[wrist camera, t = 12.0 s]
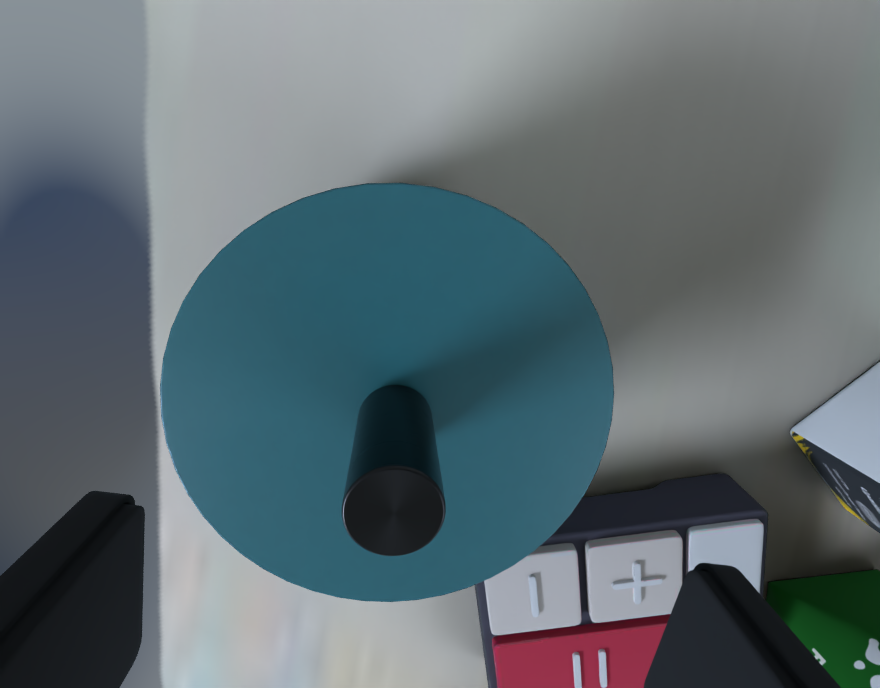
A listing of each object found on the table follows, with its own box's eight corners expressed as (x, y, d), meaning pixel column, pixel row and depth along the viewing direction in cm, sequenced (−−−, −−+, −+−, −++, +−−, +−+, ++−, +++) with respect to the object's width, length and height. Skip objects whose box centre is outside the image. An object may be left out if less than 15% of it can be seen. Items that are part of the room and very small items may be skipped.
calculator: (471, 557, 25) (780, 517, 24) (464, 504, 29) (729, 470, 29) (493, 724, 28) (768, 690, 28) (484, 655, 32) (723, 625, 32)
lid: (184, 139, 15) (38, 102, 9) (652, 229, 17) (797, 248, 11) (166, 561, 19) (55, 736, 13) (547, 596, 21) (610, 763, 14)
